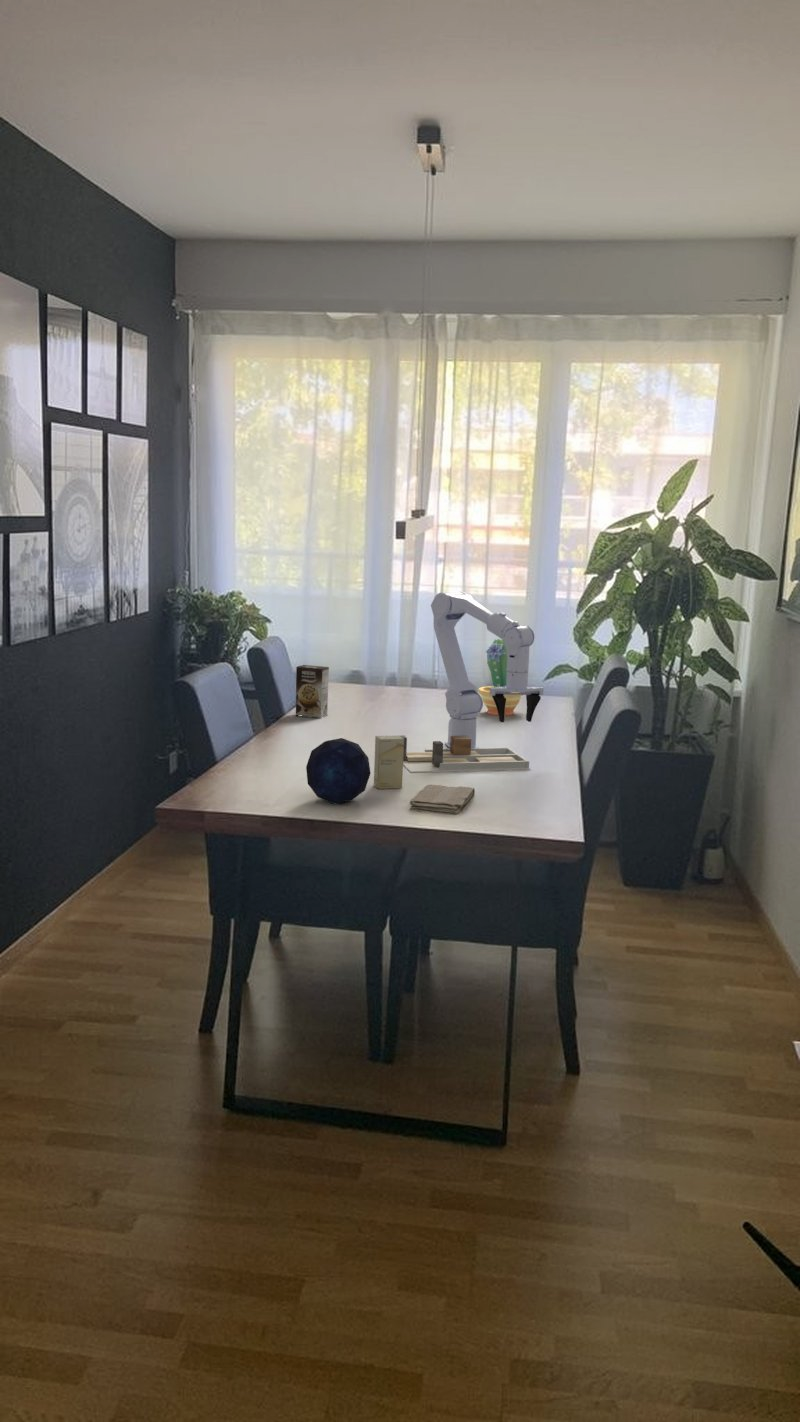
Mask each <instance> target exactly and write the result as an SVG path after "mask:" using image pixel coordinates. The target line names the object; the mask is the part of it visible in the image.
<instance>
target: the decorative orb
mask: <svg viewBox="0 0 800 1422" xmlns="http://www.w3.org/2000/svg"><path fill="white" fill-rule="evenodd" d="M309 754H310V755H309V758H308V760H307V763H306V766H305V767H306V768H305V769H306V778H307V779H306V780H307V785H308V787H309V788H310V789H311V790H312V791H313V793H314V794H315V795H316V796H317V798H318V799H322V800H324V801H326V802H329V803H332V804H334V803H336V804H340V803H346V802H350V801H353V800H355V798H357V797H358V796H359V795H361V794H362V793H364V792H365V791H366V788H367V785H368V782H369V779H370V776H371V766H370V759H369V757H368V755H367V754H366V753H365V751H364V750H363V749H362V747H361V746H360V744H359V743H357V742H353V741H351V740H348V739H345V738H343V737H340V738H335V739H334V738H333V739H330V740H325V741H323V742H322V743H320V744H319V745H318V746H316V747H315V748H313V749H312V750H311V751H310V753H309Z"/></svg>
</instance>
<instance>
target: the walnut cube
mask: <svg viewBox="0 0 800 1422" xmlns="http://www.w3.org/2000/svg"><path fill="white" fill-rule="evenodd" d="M449 749H450V753H452V754H453V755H471V738H469V737H468V736H467V735H464V736H450V748H449Z"/></svg>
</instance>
